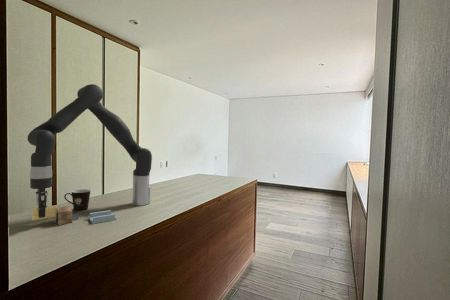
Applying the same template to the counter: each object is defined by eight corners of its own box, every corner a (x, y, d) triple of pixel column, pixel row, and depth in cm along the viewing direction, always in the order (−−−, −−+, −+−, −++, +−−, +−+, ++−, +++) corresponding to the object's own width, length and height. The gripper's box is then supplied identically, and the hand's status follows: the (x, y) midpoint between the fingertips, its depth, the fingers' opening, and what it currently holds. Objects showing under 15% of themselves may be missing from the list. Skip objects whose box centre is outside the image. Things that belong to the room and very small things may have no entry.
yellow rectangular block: (53, 214, 108) (53, 205, 108) (55, 216, 106) (55, 207, 106) (31, 218, 103) (30, 208, 102) (32, 220, 100) (32, 210, 100)
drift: (76, 218, 115) (76, 212, 115) (78, 219, 113) (78, 213, 113) (53, 222, 108) (53, 215, 108) (55, 224, 106) (55, 217, 106)
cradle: (110, 215, 121) (111, 209, 120) (116, 219, 114) (116, 214, 114) (88, 218, 114) (88, 213, 114) (92, 223, 108) (92, 218, 108)
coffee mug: (93, 208, 130) (94, 190, 130) (80, 212, 122) (80, 193, 121) (76, 205, 133) (77, 188, 133) (62, 210, 125) (62, 191, 125)
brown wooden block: (69, 217, 114) (69, 206, 114) (71, 222, 108) (72, 210, 107) (56, 219, 111) (56, 207, 111) (58, 225, 104) (58, 212, 104)
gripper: (54, 178, 100) (54, 218, 101) (50, 173, 111) (50, 210, 111) (30, 179, 95) (31, 222, 96) (29, 174, 106) (29, 213, 107)
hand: (41, 215), depth 104 cm, fingers closed on yellow rectangular block, 4 cm apart
